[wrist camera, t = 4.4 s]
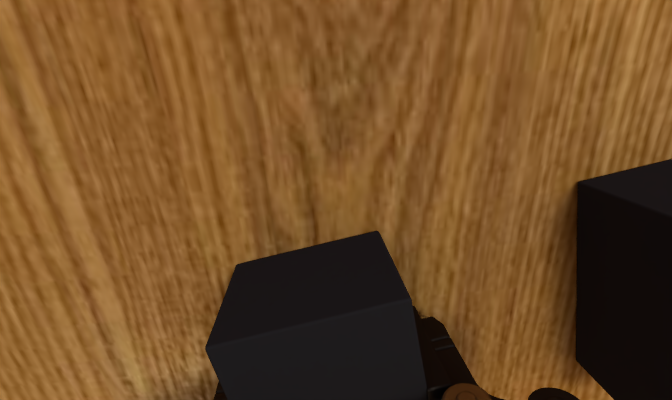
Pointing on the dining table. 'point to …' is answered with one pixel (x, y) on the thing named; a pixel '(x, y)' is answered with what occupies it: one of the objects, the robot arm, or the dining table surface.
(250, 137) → the dining table surface
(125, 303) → the dining table surface
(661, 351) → the pad
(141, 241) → the dining table surface
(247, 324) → the pad
